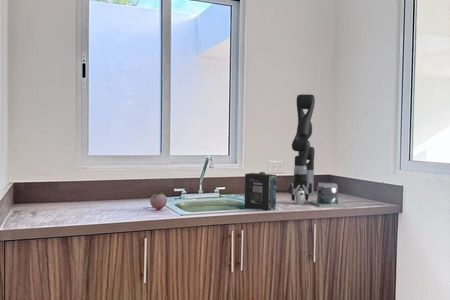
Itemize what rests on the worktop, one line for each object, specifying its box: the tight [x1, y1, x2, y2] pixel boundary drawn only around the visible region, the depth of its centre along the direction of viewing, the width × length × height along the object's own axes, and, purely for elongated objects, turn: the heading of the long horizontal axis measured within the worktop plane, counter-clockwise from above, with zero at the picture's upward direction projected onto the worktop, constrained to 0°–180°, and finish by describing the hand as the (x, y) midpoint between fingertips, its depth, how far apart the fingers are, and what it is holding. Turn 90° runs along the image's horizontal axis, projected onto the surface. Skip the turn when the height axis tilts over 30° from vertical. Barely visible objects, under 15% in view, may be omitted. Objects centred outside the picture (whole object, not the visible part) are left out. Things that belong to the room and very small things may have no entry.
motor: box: [309, 182, 347, 208], centre depth 226 cm, size 16×16×12 cm
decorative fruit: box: [149, 191, 168, 211], centre depth 202 cm, size 9×8×10 cm
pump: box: [295, 188, 305, 205], centre depth 226 cm, size 7×5×10 cm
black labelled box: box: [242, 171, 278, 211], centre depth 211 cm, size 8×18×20 cm, turn 53°
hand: (299, 200), depth 227 cm, fingers open, 7 cm apart
